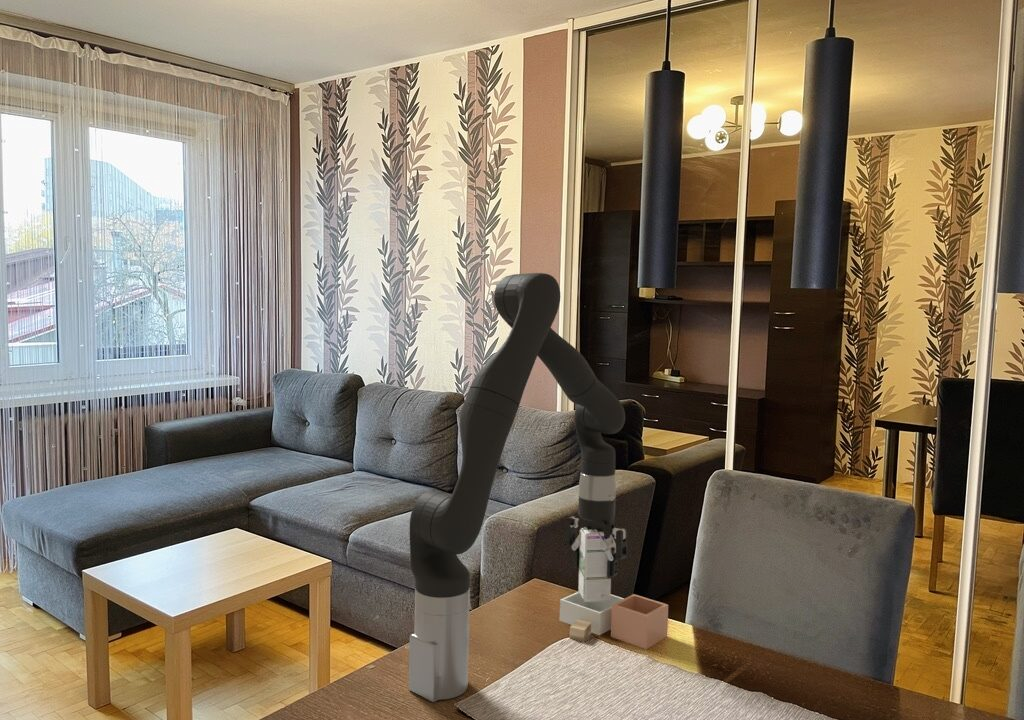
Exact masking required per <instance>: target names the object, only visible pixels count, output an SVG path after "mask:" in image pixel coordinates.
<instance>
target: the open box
mask: <svg viewBox="0 0 1024 720" xmlns="http://www.w3.org/2000/svg"><path fill="white" fill-rule="evenodd" d="M668 619H669V604H667V603H665V602H661V601H657V600H655V599H650V598H648V597H644V596H641V595H638V594H635V593H633V594H631V595H628V596H627V597H625V598H624V599H623V600H621V601H619V602H617V603H615V604H613V605H612V616H611V629H610V637H611V638H613V639H615V640H618V641H621V642H624V643H626V644H629V645H632V646H635V647H638V648H640V649H643V650H648V649H649V648H651V647H653V646H654V645H656V644H658V643H659V642H661V641H663V640H665V638H667V637H668V629H669V627H668V626H669V625H668V624H669V620H668Z"/></svg>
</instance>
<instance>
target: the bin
mask: <svg viewBox="0 0 1024 720" xmlns="http://www.w3.org/2000/svg"><path fill="white" fill-rule="evenodd" d="M623 599H625V598H623V597H620V596H618V595H614V594H611V593H610V602H584V601H583V599H582V597H581V596H580V594H579V592H578V591H576V592H575V593H572V594H570V595H568V596H566V597H565V596H564V597H563V598H561V599H559V618H558V619H559V622H562V623H563V624H564V623H565V624H568V625H570V626H571V625H572V624H573V623H574V622H575V621H576V620H581V621H585V622H590V623H591V634H595V635H598V636H601V635H602V634H604V633H607V632H609V631H611V616H612V605H613V604H615V603H617V602H619V601H621V600H623Z"/></svg>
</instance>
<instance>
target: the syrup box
mask: <svg viewBox="0 0 1024 720" xmlns="http://www.w3.org/2000/svg"><path fill="white" fill-rule="evenodd" d="M582 529H583V528H581V530H580V529H579V534H580V533H581V543H580V546H579V568H578V586H577V587H578V590H577V592H579V594H580V596H581V597H582V599H583V601H584V602H610V594H611V590H612V579H610V578H607V561H608V560H609V559H608V557H607V555H606V553H605V551H603V550H602V548H601V546H600V541H601V540H600V537H599V534H598V533H600V535H601V536H602V537H603V538H604V532H601V531H600V532H595V531H594V530H592V529H589V530H582ZM612 537H613V535H612V534H611V535H610V536H609V538H608V539H604V540H605V542H606V544H607V545H609V544H610V545H611V544H612ZM610 549H611V548H610Z"/></svg>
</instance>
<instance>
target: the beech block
mask: <svg viewBox="0 0 1024 720" xmlns="http://www.w3.org/2000/svg"><path fill="white" fill-rule="evenodd" d="M591 635H592V632H591V623H590V622H585V621H581V620H576V621H575V622H574V623H573V624H572V625H570V626H569V639H571V640H574V639H576V640H575V641H578V640H580V641H579V642H583V641H584V642H585V641H586V640H587V639H588V638H589V637H590V636H591Z"/></svg>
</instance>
